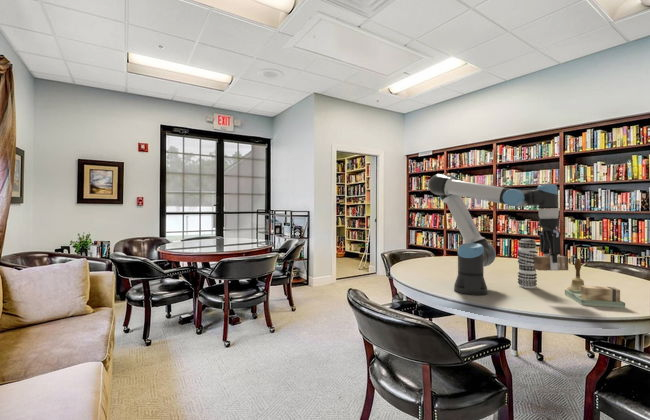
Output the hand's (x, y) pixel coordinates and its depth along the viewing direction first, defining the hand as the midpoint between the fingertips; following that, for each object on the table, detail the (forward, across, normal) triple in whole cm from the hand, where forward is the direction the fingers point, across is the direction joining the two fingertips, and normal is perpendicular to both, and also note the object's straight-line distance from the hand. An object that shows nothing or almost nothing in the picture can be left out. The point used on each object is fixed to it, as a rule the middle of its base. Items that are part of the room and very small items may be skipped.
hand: (550, 268), depth 145 cm
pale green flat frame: (+14, -1, -16) cm, 22 cm away
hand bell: (+14, +19, -22) cm, 32 cm away
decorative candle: (+13, +23, 0) cm, 27 cm away
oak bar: (+13, -6, -16) cm, 21 cm away
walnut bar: (0, 0, 0) cm, 0 cm away
